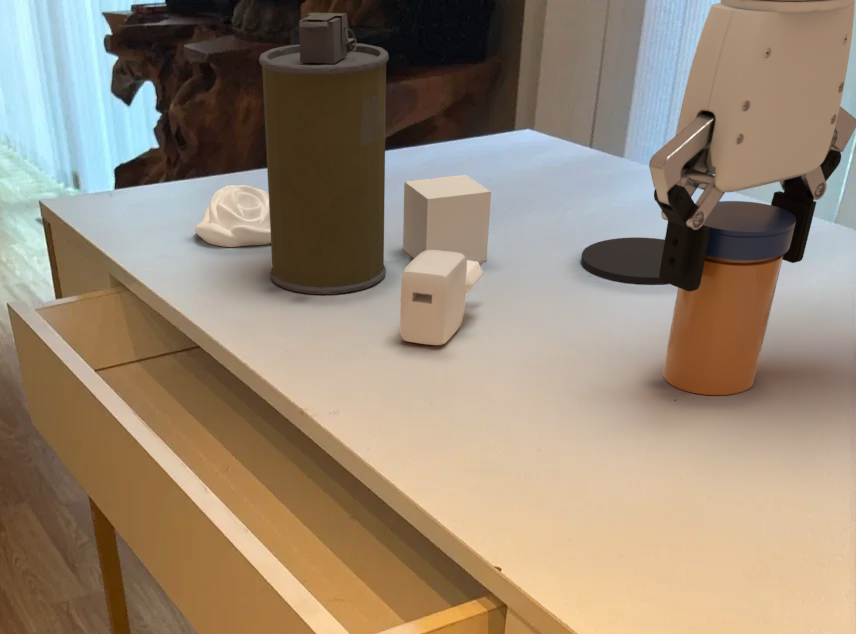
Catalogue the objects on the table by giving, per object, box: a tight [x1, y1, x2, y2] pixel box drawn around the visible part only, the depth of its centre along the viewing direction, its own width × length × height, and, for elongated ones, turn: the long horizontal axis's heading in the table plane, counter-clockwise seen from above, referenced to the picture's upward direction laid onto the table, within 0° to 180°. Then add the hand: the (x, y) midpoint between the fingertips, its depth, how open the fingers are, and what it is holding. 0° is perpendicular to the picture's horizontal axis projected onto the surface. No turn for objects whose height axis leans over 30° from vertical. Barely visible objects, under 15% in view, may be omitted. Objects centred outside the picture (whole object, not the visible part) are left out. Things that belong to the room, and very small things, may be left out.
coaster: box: [580, 236, 667, 285], centre depth 101 cm, size 11×11×1 cm
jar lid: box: [703, 200, 796, 260], centre depth 75 cm, size 7×7×2 cm
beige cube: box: [402, 174, 492, 262], centre depth 102 cm, size 6×6×6 cm
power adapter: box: [399, 250, 484, 346], centre depth 89 cm, size 11×5×6 cm, turn 157°
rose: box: [193, 184, 271, 248], centre depth 109 cm, size 10×4×10 cm
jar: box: [662, 254, 784, 396], centre depth 78 cm, size 6×6×11 cm
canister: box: [258, 12, 390, 295], centre depth 95 cm, size 11×10×20 cm
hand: (730, 271), depth 77 cm, fingers open, 9 cm apart
